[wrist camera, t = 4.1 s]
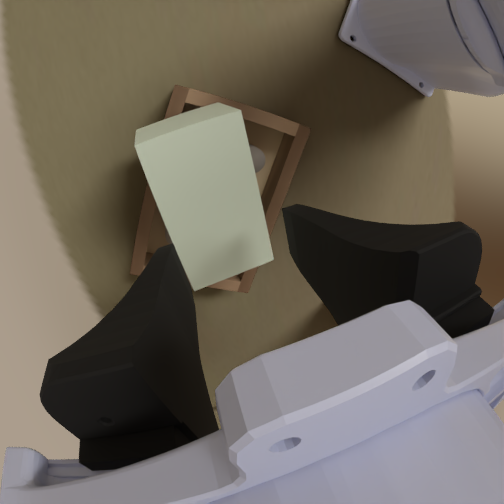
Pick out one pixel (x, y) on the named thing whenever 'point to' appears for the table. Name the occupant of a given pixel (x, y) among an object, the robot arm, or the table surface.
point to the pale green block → (206, 191)
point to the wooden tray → (266, 169)
